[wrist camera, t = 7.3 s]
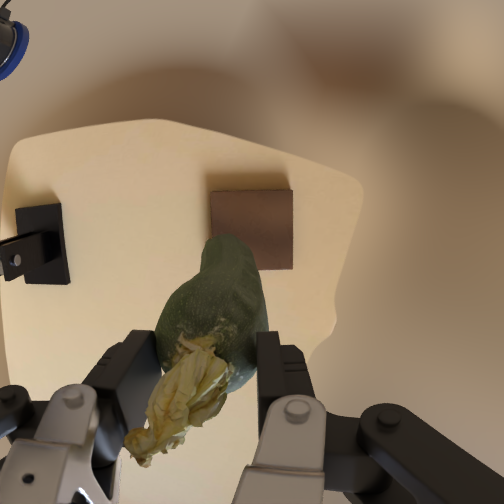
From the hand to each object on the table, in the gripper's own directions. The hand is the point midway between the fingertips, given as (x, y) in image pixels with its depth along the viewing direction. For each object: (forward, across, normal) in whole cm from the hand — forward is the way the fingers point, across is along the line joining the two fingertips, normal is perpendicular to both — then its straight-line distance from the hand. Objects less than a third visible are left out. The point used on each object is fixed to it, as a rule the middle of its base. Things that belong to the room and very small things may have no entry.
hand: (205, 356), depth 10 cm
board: (+31, -2, 0) cm, 31 cm away
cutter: (+31, +30, +2) cm, 43 cm away
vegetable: (+15, 0, 0) cm, 15 cm away
